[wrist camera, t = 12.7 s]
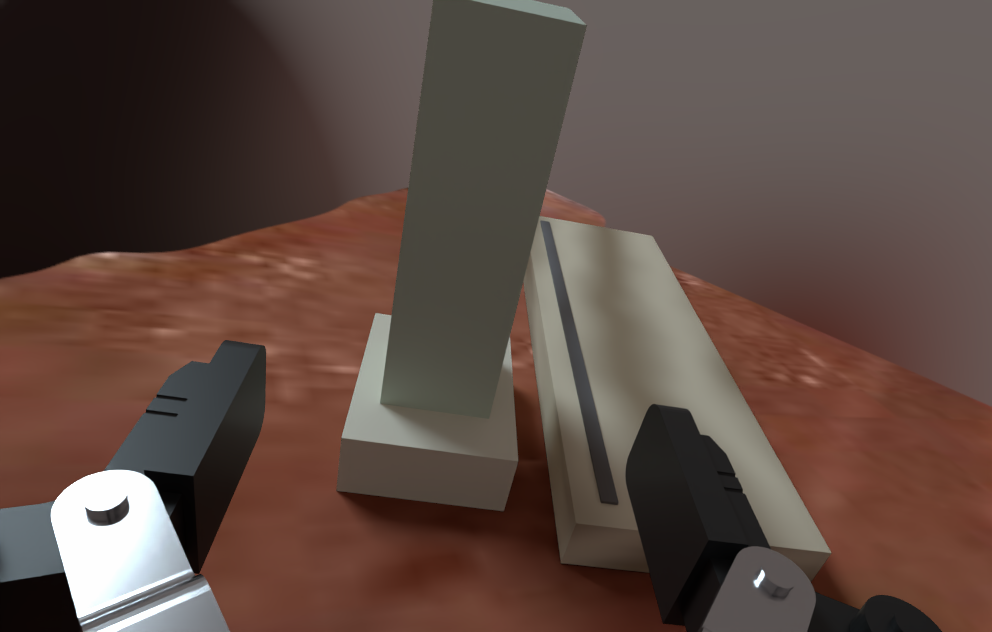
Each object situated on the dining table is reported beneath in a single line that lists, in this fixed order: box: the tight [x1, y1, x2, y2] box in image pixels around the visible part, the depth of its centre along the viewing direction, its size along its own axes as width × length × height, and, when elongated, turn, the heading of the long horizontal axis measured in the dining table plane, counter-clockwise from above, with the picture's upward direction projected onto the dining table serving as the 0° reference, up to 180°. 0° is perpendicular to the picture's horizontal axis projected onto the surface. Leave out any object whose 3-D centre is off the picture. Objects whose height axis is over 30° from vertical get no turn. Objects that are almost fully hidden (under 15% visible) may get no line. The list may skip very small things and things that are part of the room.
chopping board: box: [523, 216, 831, 582], centre depth 33 cm, size 9×26×2 cm, turn 1°
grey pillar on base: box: [336, 0, 587, 511], centre depth 22 cm, size 6×8×16 cm
